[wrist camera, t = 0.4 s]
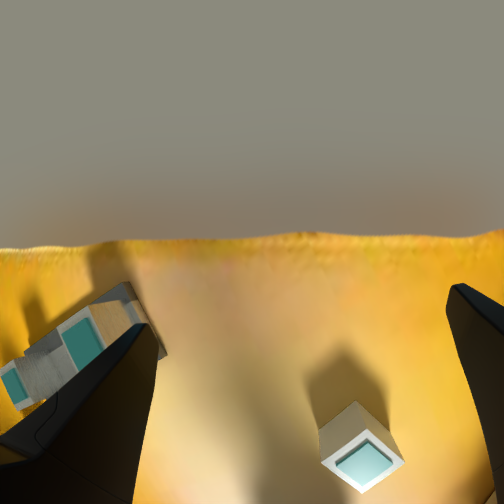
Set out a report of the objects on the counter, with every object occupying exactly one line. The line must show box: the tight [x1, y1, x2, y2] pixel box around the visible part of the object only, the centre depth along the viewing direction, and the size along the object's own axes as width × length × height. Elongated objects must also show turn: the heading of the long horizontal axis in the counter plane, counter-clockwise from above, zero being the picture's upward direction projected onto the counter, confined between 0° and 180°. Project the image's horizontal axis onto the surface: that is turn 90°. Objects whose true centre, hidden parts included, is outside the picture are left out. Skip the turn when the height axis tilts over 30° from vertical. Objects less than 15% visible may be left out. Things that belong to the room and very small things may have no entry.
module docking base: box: [0, 282, 167, 411], centre depth 22 cm, size 7×17×6 cm, turn 120°
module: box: [319, 400, 405, 493], centre depth 19 cm, size 5×4×5 cm
